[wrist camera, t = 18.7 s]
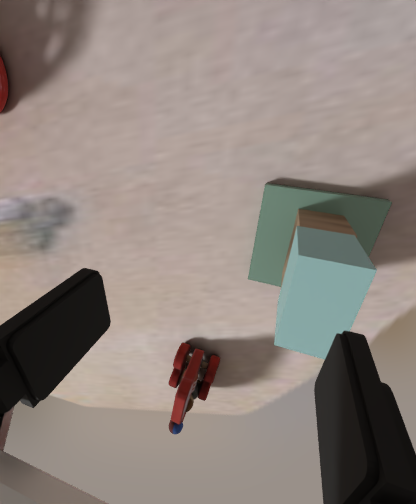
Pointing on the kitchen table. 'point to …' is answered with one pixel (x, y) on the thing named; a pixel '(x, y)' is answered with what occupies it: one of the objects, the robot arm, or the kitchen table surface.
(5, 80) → the plant pot
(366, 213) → the board
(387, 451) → the robot arm
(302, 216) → the walnut brick
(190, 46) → the kitchen table surface
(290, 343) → the teal brick
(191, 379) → the toy fire truck
